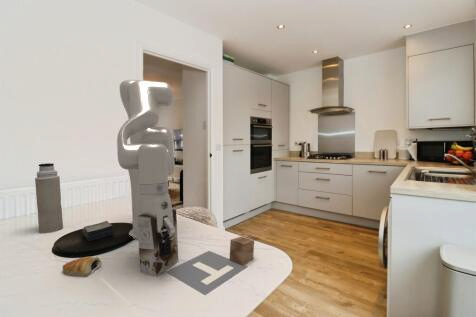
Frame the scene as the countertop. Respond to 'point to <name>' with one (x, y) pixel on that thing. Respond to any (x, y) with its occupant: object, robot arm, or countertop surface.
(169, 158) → the robot arm
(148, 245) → the coffee box
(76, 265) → the pastry
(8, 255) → the countertop surface
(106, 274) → the countertop surface
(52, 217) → the thermos bottle
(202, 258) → the letter tile
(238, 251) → the walnut block
